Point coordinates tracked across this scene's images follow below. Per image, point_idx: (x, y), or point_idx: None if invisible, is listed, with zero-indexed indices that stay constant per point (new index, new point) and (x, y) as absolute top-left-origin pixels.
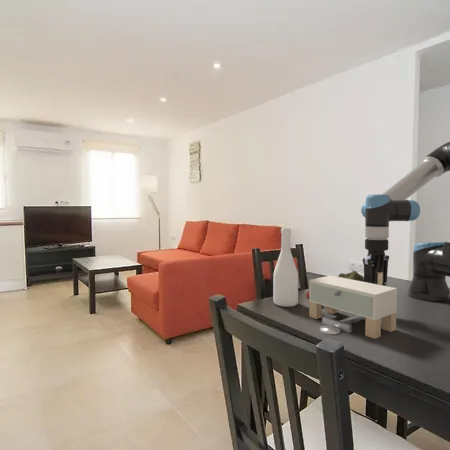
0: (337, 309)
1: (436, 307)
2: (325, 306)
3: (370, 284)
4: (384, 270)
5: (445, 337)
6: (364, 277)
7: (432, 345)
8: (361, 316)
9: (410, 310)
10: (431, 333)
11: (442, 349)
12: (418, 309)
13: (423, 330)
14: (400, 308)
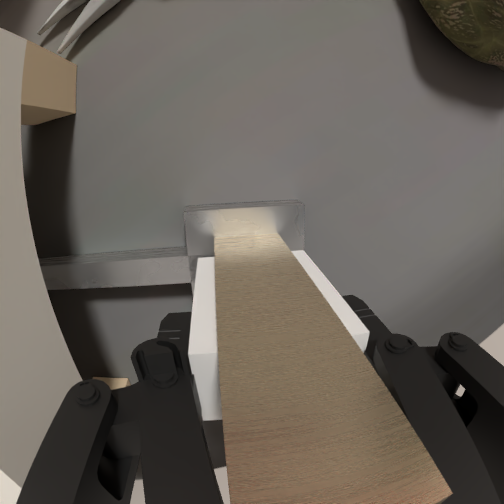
0: (64, 112)
1: (489, 320)
2: (78, 24)
3: (12, 493)
4: (493, 483)
5: (221, 467)
6: (33, 474)
7: (140, 467)
8: (79, 286)
9: (425, 306)
10: (217, 451)
11: (142, 477)
12: (450, 311)
13: (221, 437)
14: (429, 267)
